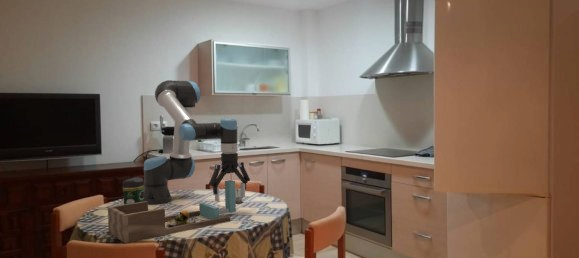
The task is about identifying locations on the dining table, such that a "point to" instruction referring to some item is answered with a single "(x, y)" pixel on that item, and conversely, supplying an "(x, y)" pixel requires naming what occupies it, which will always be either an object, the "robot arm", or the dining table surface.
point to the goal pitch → (148, 222)
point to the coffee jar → (133, 190)
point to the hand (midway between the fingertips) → (230, 199)
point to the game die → (238, 195)
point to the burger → (181, 219)
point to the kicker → (230, 203)
